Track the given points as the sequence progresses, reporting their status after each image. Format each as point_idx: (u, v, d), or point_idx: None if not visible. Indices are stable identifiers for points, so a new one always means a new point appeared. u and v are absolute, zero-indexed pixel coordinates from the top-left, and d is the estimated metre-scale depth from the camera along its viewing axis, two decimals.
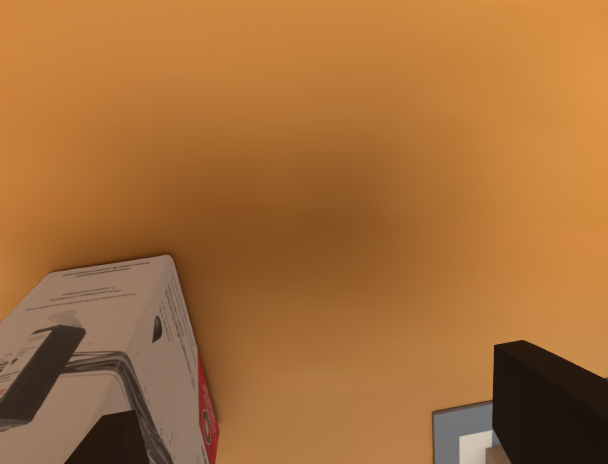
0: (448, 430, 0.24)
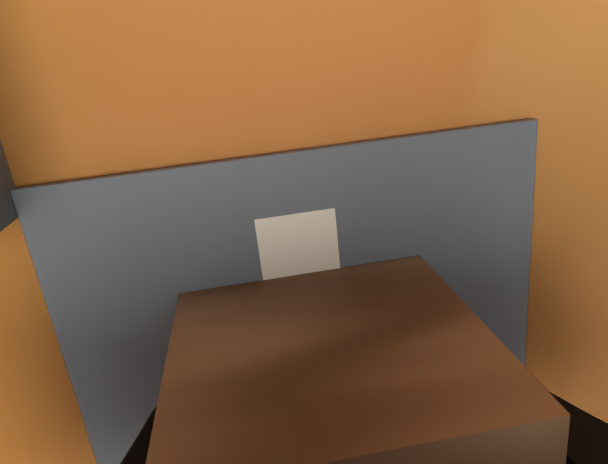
0: None
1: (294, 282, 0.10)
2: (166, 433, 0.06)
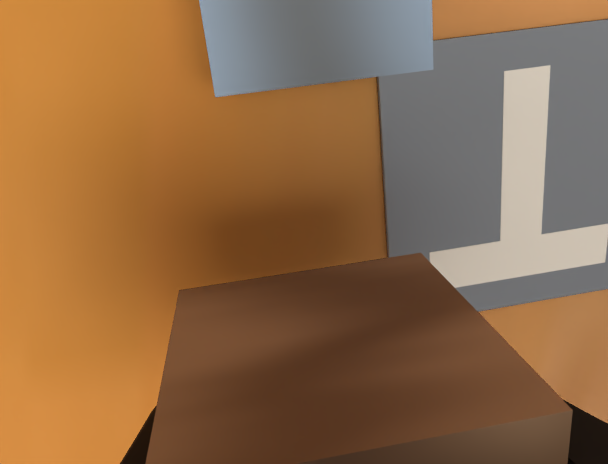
0: None
1: (295, 279, 0.10)
2: (167, 428, 0.06)
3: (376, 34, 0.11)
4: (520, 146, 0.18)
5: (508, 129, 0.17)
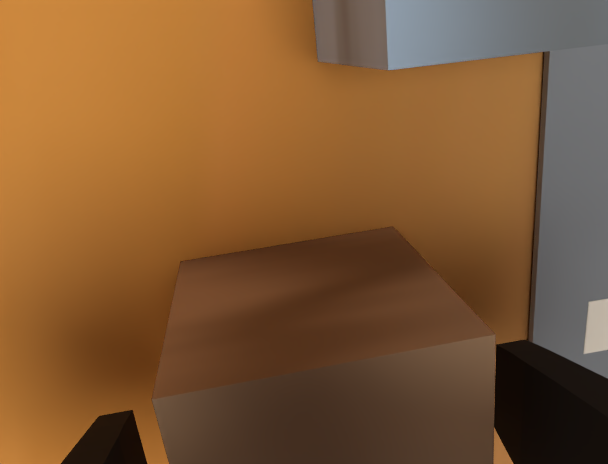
0: None
1: (281, 249, 0.12)
2: (172, 357, 0.08)
3: None
4: None
5: None
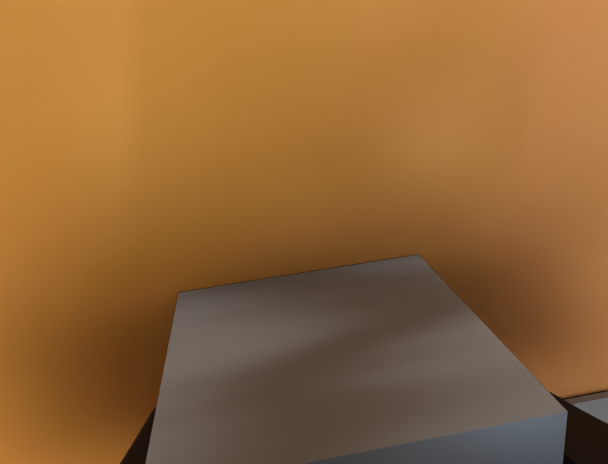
0: None
1: None
2: None
3: None
4: None
5: None
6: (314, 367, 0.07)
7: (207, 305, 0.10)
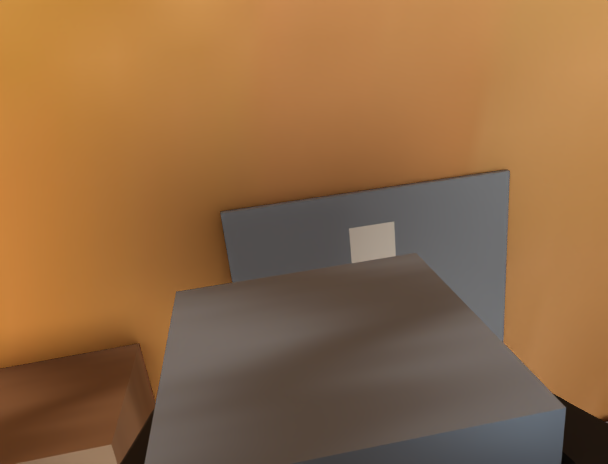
0: None
1: (58, 362, 0.17)
2: None
3: None
4: None
5: None
6: (312, 366, 0.07)
7: (205, 304, 0.10)
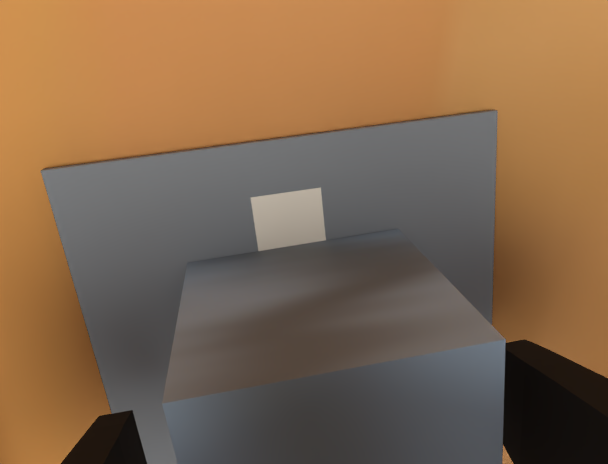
0: None
1: None
2: None
3: None
4: None
5: None
6: (303, 315, 0.09)
7: (212, 271, 0.11)
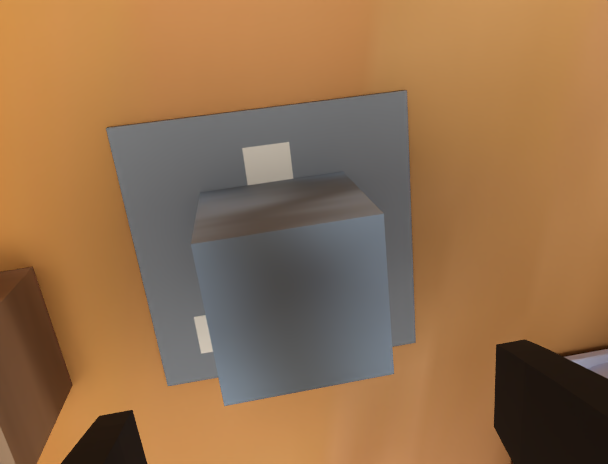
0: (191, 367, 0.20)
1: None
2: None
3: (348, 355, 0.15)
4: None
5: None
6: (272, 210, 0.15)
7: (217, 195, 0.17)
